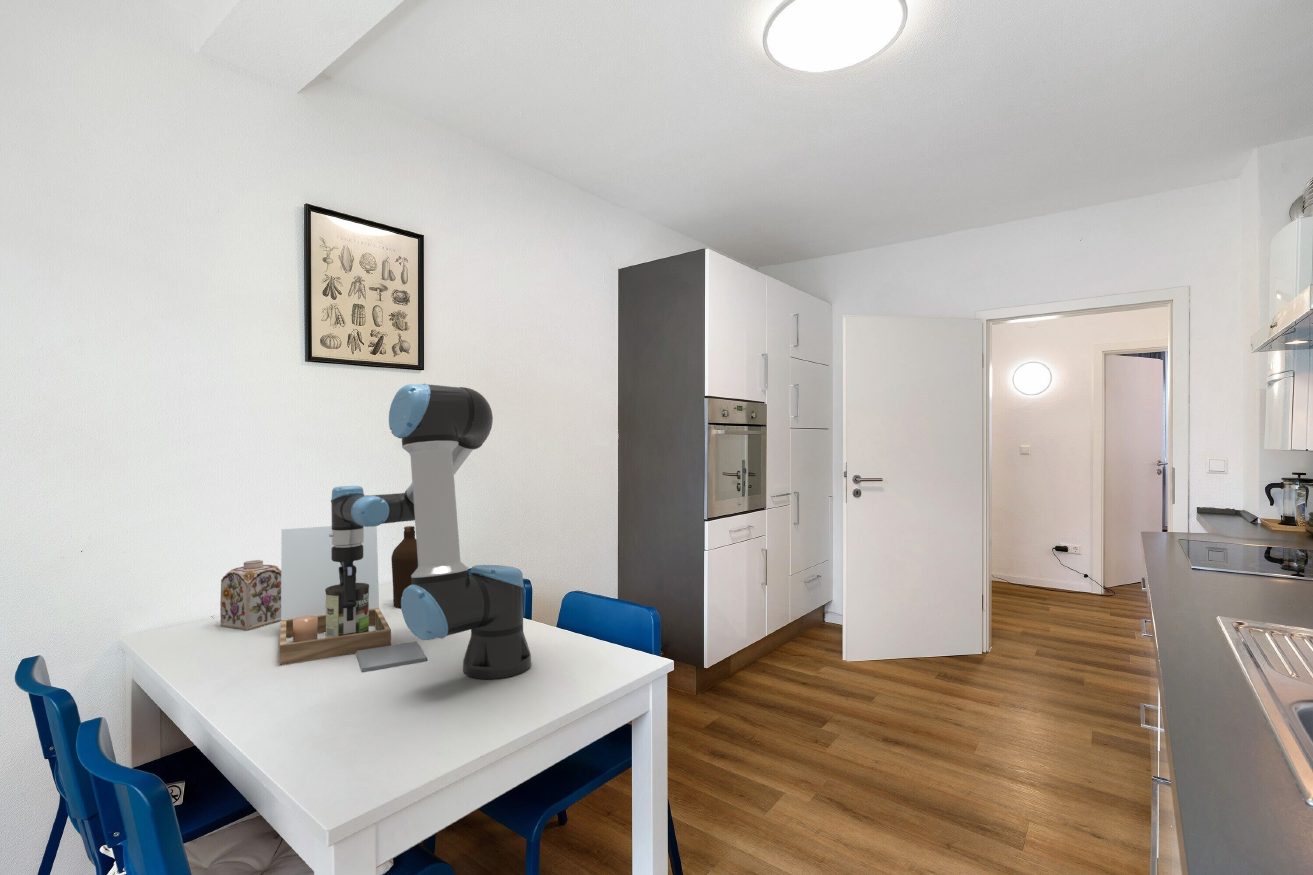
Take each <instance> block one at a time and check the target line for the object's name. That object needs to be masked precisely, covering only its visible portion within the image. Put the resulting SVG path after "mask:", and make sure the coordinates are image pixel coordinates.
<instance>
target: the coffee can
mask: <svg viewBox="0 0 1313 875" xmlns="http://www.w3.org/2000/svg"><path fill="white" fill-rule="evenodd" d="M355 585H356V602H357V604H356V632H354V633H347V634H344V608H342V609H341V605H344V587H343V585H342V584H338V585H334V586H330V587H328V588H326V589H325V592H326V632H325V638H329V637H335V636H342V635H349V634H356V633H363V632H370V630H369V627H370V626H369V584H366V583H355ZM350 602H352V601H350Z"/></svg>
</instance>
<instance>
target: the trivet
mask: <svg viewBox="0 0 1313 875" xmlns="http://www.w3.org/2000/svg"><path fill="white" fill-rule="evenodd" d="M355 655H356V657H357V661H358V664H359V667H360V670H361V672H362V673H365V672H371V671H376V670H382V669H383V670H384V669H388V668H392V667H393V668H394V667H400V666H407V665H410V664H411V665H412V664H416V663H422V662H427V661H428V657H427V655H426V653H425V652H424V650H423V649H422V647H421V646H420V644H419V643H418V641H416V640H415V641H410V642H405V643H404V642H403V643H398V644H397V643H396V644H391V645H390V646H384V647H378V648H371V649H365V650H359V651H356V653H355Z"/></svg>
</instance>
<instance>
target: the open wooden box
mask: <svg viewBox="0 0 1313 875" xmlns="http://www.w3.org/2000/svg"><path fill="white" fill-rule="evenodd" d="M317 617H318V634H323V633H324V632H325V633H326V615H320V616H317ZM373 626H374V627H375V629H376V630H369V632H363V633H356V634H349V635H342V636H335V637H329V638H326V637H324V638H322V637H321V638H318V639H315V640H308V641H301V642H294V643H293V642H289V643H287V639H288V638H293V619H289V620H281V621H280V633H279V635H280V636H279V666H285V664H286V665H291V664H296V663H297V664H298V663H303V662H310V661H317V660H321V659H322V660H323V659H329V658H335V657H342V656H347V655H353V654H356V651H359V650H365V649H371V648H378V647H384V646H390V645H392V629H391V627H390V625H389V623H388V621H387V620H386V618H385V616H384V614H383V612H382V611H381V608H380V607H379V608H375V609H369V627H373Z"/></svg>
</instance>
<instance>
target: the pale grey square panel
mask: <svg viewBox="0 0 1313 875" xmlns="http://www.w3.org/2000/svg"><path fill="white" fill-rule="evenodd" d="M363 527H364V526H363ZM377 527H378V526H374V527H371V526H370V527H364V542H363V543H361V544H362V545H363V558H362V559H361V560H357V561H353V566H355V567H356V569H357V571H356V583H366V584H369V609H375V608H379V609H380V601H379V600H380V595H379V594H380V592H379V564H378V563H379V562H378V560H379V559H378V533H377V531H378V529H377ZM330 533H333V532H332V525H329V526H316V527H315V526H313V527H297V528H283V529H281V548H280V549H281V552H280V553H281V554H280V555H281V556H280V557H281V559H280V560H281V564H280V565H281V567H280V570H281V620H289V619H295V618H298V617H302V616H320V615H326V592H325V589H326V588H328V587H330V586H334V585H338V584H340V579H339V567H340V566H341V564H340V562H334V561H332V559H331V548H332V547H333V546H334V545H332V537H329V534H330Z"/></svg>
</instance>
